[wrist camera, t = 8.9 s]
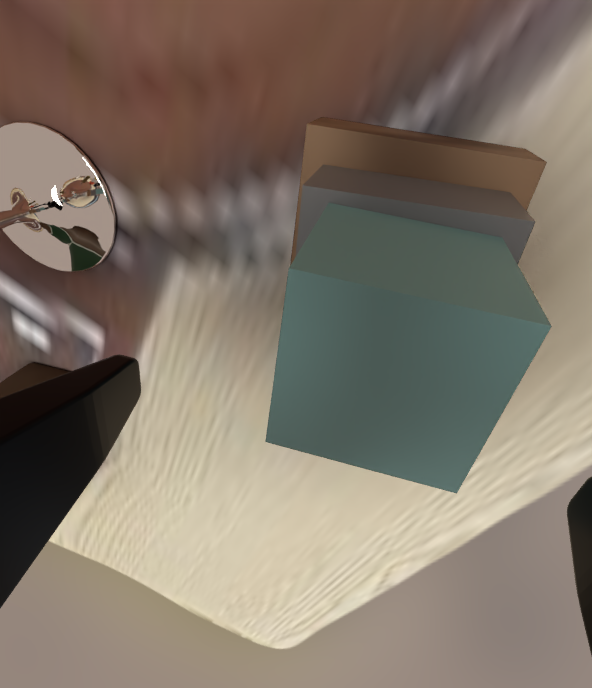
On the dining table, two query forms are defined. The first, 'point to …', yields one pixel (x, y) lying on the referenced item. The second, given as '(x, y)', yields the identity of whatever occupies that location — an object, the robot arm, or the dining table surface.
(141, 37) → the dining table surface
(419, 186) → the charcoal block
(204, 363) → the dining table surface
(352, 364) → the teal cube
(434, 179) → the walnut slab
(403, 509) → the dining table surface
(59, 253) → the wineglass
